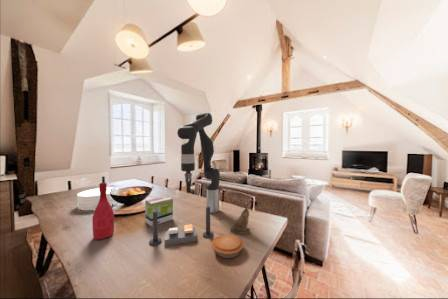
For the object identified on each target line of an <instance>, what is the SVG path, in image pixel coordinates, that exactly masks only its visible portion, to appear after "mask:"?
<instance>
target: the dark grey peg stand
mask: <svg viewBox="0 0 448 299" xmlns="http://www.w3.org/2000/svg"><path fill="white" fill-rule="evenodd" d="M202 237H203V238H205V239H210V238H212V237H214V231H211V213H210V207H209V206H207V205H206V206H205V231H204V232H203V233H202Z"/></svg>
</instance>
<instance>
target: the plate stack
mask: <svg viewBox="0 0 448 299" xmlns="http://www.w3.org/2000/svg"><path fill="white" fill-rule="evenodd" d="M106 188H107V190H106V196H107V200H108V202H109V204H113V203H115V201H114V200H113V199H112V197H111V196H110V192H111V189H112V188H113V187H107V186H106ZM114 188H115V189H117V190H118V191H119V188H118V187H114ZM99 190H100V187H97V188H91V189H87V190H83V191H81V192H78V193H77V194H76V195H77V198H76V199H77V200H76V201H77V205H76V206H77V207H78V209H82V210H93V211H95V210H94V209H96V207H97V205H98V203H99V200H100V191H99ZM78 209H77V210H78Z"/></svg>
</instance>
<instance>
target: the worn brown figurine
mask: <svg viewBox="0 0 448 299" xmlns="http://www.w3.org/2000/svg"><path fill="white" fill-rule="evenodd" d="M248 208H249V205H248V204H246V206H245V209H244V210H243V211H242V212H241V213H240V216H239V218H237V220H236V221H235V222H234V223H233V224H232V225H231V227H229V228H230V230H229V232H230V233H234V234H236V235H237V234H238V235H244V236H245V235H246V236H250V234H251V229H250V228H248V224H249V220H250V219H249V216H250V211H249V209H248Z"/></svg>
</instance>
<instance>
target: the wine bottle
mask: <svg viewBox="0 0 448 299" xmlns="http://www.w3.org/2000/svg"><path fill="white" fill-rule="evenodd" d="M99 188H100V190H99V191H100V200H99V203H98V205H97V207H96V209H95V210H93V215H92V219H91V220H92V238H93V239H94V240H99V239H100V240H105V239H108V238H110V237H111V236H112V235H113V234H114V232H115V213H114V209H113V206H111V205H110V204H109V202H108V200H107V196H106V190H107V183H106V182H100V183H99ZM107 237H108V238H107Z"/></svg>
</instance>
